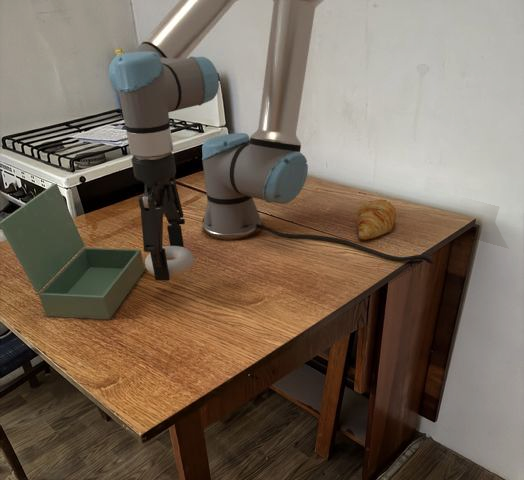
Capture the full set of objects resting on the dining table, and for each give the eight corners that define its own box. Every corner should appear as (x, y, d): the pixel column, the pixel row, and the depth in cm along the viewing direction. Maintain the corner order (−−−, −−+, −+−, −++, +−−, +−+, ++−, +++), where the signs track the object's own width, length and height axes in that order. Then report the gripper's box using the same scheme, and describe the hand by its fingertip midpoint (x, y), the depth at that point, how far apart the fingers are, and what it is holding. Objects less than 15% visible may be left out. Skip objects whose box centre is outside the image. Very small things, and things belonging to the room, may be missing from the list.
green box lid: (56, 183, 106) (53, 183, 106) (1, 222, 89) (-3, 223, 90) (85, 245, 114) (82, 246, 114) (39, 291, 98) (35, 292, 98)
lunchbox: (145, 270, 115) (140, 249, 112) (109, 319, 99) (103, 297, 96) (89, 267, 117) (84, 247, 114) (46, 316, 101) (38, 294, 98)
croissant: (371, 258, 123) (389, 233, 117) (338, 234, 123) (354, 209, 117) (394, 223, 137) (411, 201, 132) (365, 203, 138) (380, 179, 132)
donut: (136, 274, 101) (174, 284, 96) (132, 258, 99) (171, 268, 94) (168, 254, 107) (205, 263, 103) (166, 239, 105) (203, 248, 101)
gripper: (152, 137, 98) (169, 242, 111) (106, 174, 80) (133, 294, 93) (189, 137, 96) (202, 243, 110) (151, 174, 79) (172, 296, 92)
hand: (170, 266), depth 102 cm, fingers closed on donut, 10 cm apart
